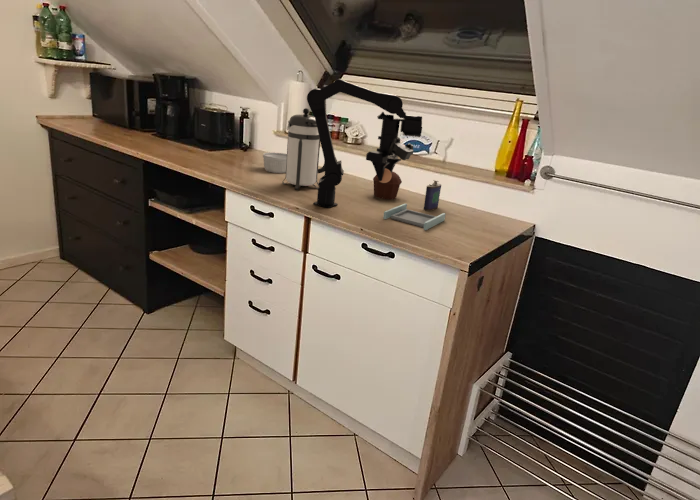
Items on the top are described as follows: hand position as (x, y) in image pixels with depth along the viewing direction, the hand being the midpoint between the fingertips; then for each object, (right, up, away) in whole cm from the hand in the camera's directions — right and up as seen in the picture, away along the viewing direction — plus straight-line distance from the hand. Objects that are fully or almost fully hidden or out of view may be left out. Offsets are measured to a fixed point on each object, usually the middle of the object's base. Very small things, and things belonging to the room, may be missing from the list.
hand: (383, 179), depth 171 cm
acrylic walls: (+10, -14, -2) cm, 17 cm away
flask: (+18, -9, +14) cm, 25 cm away
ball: (0, +1, 0) cm, 2 cm away
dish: (+10, -14, -2) cm, 17 cm away
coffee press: (-31, +1, +27) cm, 41 cm away
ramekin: (-44, +11, +49) cm, 66 cm away
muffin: (+2, -3, +24) cm, 24 cm away
